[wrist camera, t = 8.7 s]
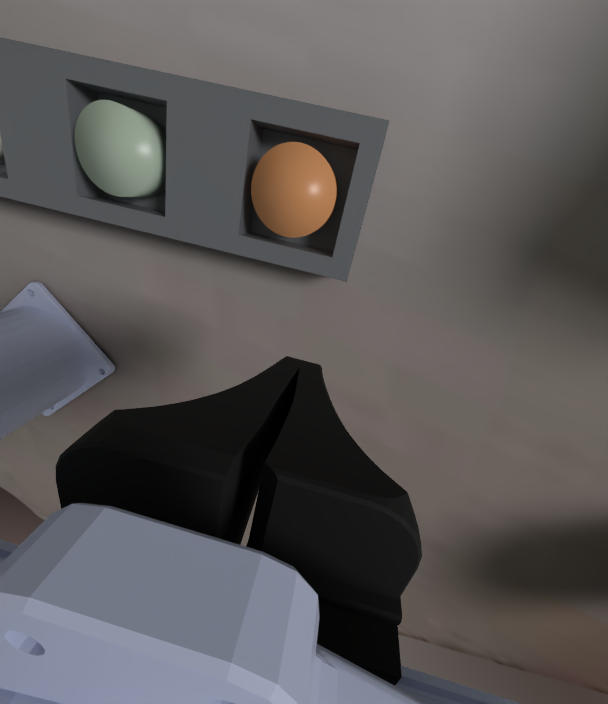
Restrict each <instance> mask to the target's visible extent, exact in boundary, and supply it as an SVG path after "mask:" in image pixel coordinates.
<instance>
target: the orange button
mask: <svg viewBox="0 0 608 704" xmlns="http://www.w3.org/2000/svg"><path fill="white" fill-rule="evenodd" d="M251 196H252V202H253V205H254V208H255V210H256V213H257V215H258V216H259V218H260V219H261V221H262V222H263V223H264V224H265V225H266V227H268V228H269V229H270V230H271V231H273V232H275V233H276V234H279V235H281V236H284V237H290V238H297V237H303V236H306V235H309V234H311V233H313V232H314V231H316V230H318V229H320V228H321V227H322V226H324V225H325V224H326V223H327V222H328V220H329V219H330V218H331V216H332V214H333V212H334V210H335V208H336V204H337V200H338V184H337V179H336V176H335V173H334V171H333V169H332V167H331V166H330V164H329V163H328V162H327V160H326V159H325V158H324V157H323V156H322V154H321V153H319V152H318V151H317V150H316V149H314V148H313V147H311V146H309V145H307V144H304V143H300V142H286V143H282V144H279V145H277V146H275V147H273V148H272V149H270V150H269V151H268V152H266V153H265V154H264V155H263V157H262V158H261V159H260V161H259V162H258V164H257V166H256V168H255V171H254V174H253V177H252V183H251Z"/></svg>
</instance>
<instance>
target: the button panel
mask: <svg viewBox="0 0 608 704" xmlns="http://www.w3.org/2000/svg"><path fill="white" fill-rule="evenodd" d="M97 100H111V101H114V102H117V103H119V104H122V105H124V106H126V107H129V108H131V109H134V110H136V111H138V112H141V113H143V114H145V115H147V116H149V117H150V118H152V119H153V120H154V121H155V122H157V124H158V125H159V126H160V127H161V128H162V129H163V131H164V132H165V134H166V189H165V190H164V191H163V192H161V193H160V194H158V195H157V196H154V197H149V198H141V197H119V196H114V195H111V194H108V193H106V192H105V191H103V190H101V189H100V188H99V187H98V186H96V185H95V184H94V183H93V182H92V181H91V179H90V178H89V177H88V176H87V174H86V173H85V171H84V169H83V167H82V165H81V163H80V161H79V158H78V155H77V152H76V147H75V127H76V122H77V119H78V117H79V115H80V113H81V112H82V110H83V109H84V108H85V107H86V106H87V105H89V104H90V103H92V102H94V101H97ZM388 124H389V121H388V120H384V119H379V118H374V117H370V116H365V115H360V114H356V113H351V112H346V111H342V110H337V109H332V108H328V107H323V106H318V105H313V104H309V103H304V102H299V101H295V100H290V99H285V98H281V97H276V96H271V95H267V94H262V93H257V92H253V91H248V90H243V89H239V88H234V87H229V86H225V85H220V84H215V83H211V82H206V81H201V80H197V79H192V78H187V77H183V76H178V75H173V74H169V73H164V72H159V71H155V70H150V69H145V68H141V67H136V66H131V65H126V64H122V63H117V62H112V61H108V60H103V59H98V58H94V57H89V56H84V55H80V54H75V53H70V52H66V51H61V50H56V49H52V48H47V47H42V46H38V45H33V44H28V43H24V42H19V41H14V40H10V39H5V38H0V136H1V141H2V147H3V152H4V158H5V163H0V197H4V198H8V199H12V200H17V201H21V202H25V203H29V204H33V205H37V206H41V207H45V208H49V209H53V210H57V211H61V212H65V213H69V214H73V215H78V216H82V217H86V218H90V219H94V220H98V221H102V222H106V223H110V224H114V225H118V226H122V227H126V228H130V229H135V230H139V231H143V232H147V233H151V234H155V235H159V236H163V237H167V238H171V239H175V240H179V241H183V242H187V243H192V244H196V245H200V246H204V247H208V248H212V249H216V250H220V251H224V252H228V253H232V254H236V255H240V256H244V257H248V258H253V259H257V260H261V261H265V262H269V263H273V264H277V265H281V266H285V267H289V268H293V269H297V270H301V271H305V272H310V273H314V274H318V275H322V276H326V277H330V278H334V279H338V280H342V281H347V278H348V274H349V270H350V266H351V263H352V259H353V255H354V251H355V248H356V244H357V240H358V236H359V233H360V229H361V225H362V222H363V218H364V214H365V210H366V207H367V203H368V199H369V195H370V192H371V188H372V184H373V180H374V177H375V173H376V169H377V165H378V162H379V158H380V154H381V150H382V147H383V143H384V139H385V136H386V132H387V128H388ZM286 142H300V143H304V144H307V145H309V146H311V147H313V148H314V149H316V150H317V151H318V152H319V153H321V154H322V156H323V157H324V158H325V159H326V160H327V162H328V163H329V164H330V166H331V167H332V169H333V171H334V173H335V176H336V179H337V184H338V200H337V204H336V208H335V210H334V212H333V214H332V216H331V218H330V219H329V220H328V222H327V223H326V224H325V225H324V226H322V227H321V228H320V229H318V230H316V231H314V232H313V233H311V234H309V235H306V236H303V237H297V238H290V237H284V236H281V235H279V234H276V233H275V232H273V231H271V230H270V229H269V228H268V227H266V225H265V224H264V223H263V222H262V221H261V219H260V218H259V216H258V215H257V213H256V210H255V208H254V205H253V202H252V196H251V183H252V177H253V174H254V171H255V168H256V166H257V164H258V162H259V161H260V159H261V158H262V157H263V155H264V154H265V153H266V152H268V151H269V150H270V149H272V148H273V147H275V146H277V145H279V144H282V143H286Z"/></svg>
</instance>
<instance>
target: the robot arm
mask: <svg viewBox="0 0 608 704" xmlns="http://www.w3.org/2000/svg"><path fill="white" fill-rule="evenodd" d="M32 291H33V292H32ZM103 370H104V371H105V372H104V371H103ZM114 371H115V366H114V364H113V363H112V362H111V361H110V360H109V359H108V358H107V356H106V355H105V354H104V353H103V352H102V351H101V350H100V349H99V347H98V346H97V345H96V344H95V343H94V342H93V341H92V339H91V338H90V337H89V336H88V335H87V334H86V333H85V332H84V330H83V329H82V328H81V327H80V326H79V325H78V324H77V323H76V321H75V320H74V319H73V318H72V317H71V316H70V315H69V314H68V312H67V311H66V310H65V309H64V308H63V307H62V306H61V305H60V303H59V302H58V301H57V300H56V299H55V298H54V297H53V295H52V294H51V293H50V292H49V291H48V290H47V289H46V288H45V286H44V285H43V284H42V283H40V282H38V281H34V282H30V283H29V284H28V285H27V286H26V287H25V288H24V289H23V290H22V291H21V292H20V293H19V294H18V295H17V296H16V297H15V298H14V299H13V300H12V301H11V302H10V303H9V304H8V305H7V306H5V307H4V308H3V309H2V310H1V311H0V440H1V439H2V438H4V437H5V436H7V435H9V434H10V433H12V432H13V431H15V430H16V429H18V428H19V427H21V426H22V425H24V424H26V423H27V422H29V421H30V420H32V419H33V418H35V417H36V416H38V415H39V414H42V415H44V416H49V415H51V414H52V413H54V412H55V411H57V410H58V409H60V408H61V407H63V406H64V405H65V404H67V403H68V402H70V401H71V400H73V399H74V398H76V397H77V396H79V395H80V394H82V393H83V392H85V391H86V390H88V389H89V388H91V387H92V386H93V385H95V384H96V383H98V382H99V381H101V380H102V379H104V378H105V377H107V376H108V375H110V374H111V373H113V372H114ZM56 483H57V488H58V494H59V499H60V504H61V509H60V510H58V511H56V512H54V513H52V514H51V515H50V516H49V517H48V518H47V519H46V520H45V521H44V522H43V523H42V524H41V525H40V526H39V527H38V528H37V529H36V530H35V531H34V532H33V533H32V534H31V535H30V536H29V537H28V538H27V539H26V540H25V541H24V542H23V543H22V544H21V545H20V546H19V545H16V544H13V543H10V542H6V541H3V540H0V704H522V703H518V702H515V701H512V700H509V699H506V698H503V697H499V696H496V695H493V694H490V693H487V692H484V691H480V690H477V689H474V688H471V687H468V686H465V685H461V684H458V683H455V682H451V681H449V680H445V679H442V678H439V677H436V676H433V675H430V674H426V673H423V672H420V671H417V670H414V669H410V668H407V667H404V666H401V663H400V652H399V639H398V627H397V625H399V624H400V623H401V620H402V610H401V600H400V596H401V595H402V593H403V591H404V590H405V588H406V586H407V585H408V583H409V582H410V580H411V578H412V577H413V575H414V573H415V572H416V570H417V568H418V566H419V563H420V560H421V558H422V551H421V540H420V535H419V529H418V525H417V521H416V518H415V514H414V511H413V508H412V505H411V502H410V498H409V495H408V493H407V492H406V491H405V490H404V489H403V488H402V487H401V486H399V485H398V484H397V483H396V482H395V481H393V480H392V479H391V478H390V477H389V476H388V475H386V474H385V473H384V472H383V471H382V470H381V469H380V468H379V467H378V466H377V465H376V464H375V463H374V462H373V461H372V460H371V459H370V458H369V457H368V456H367V455H366V454H365V453H364V452H363V451H362V450H361V448H360V447H359V446H358V445H357V443H356V442H355V441H354V440H353V438H352V437H351V436H350V435H349V433H348V432H347V430H346V429H345V427H344V426H343V424H342V422H341V421H340V419H339V417H338V415H337V413H336V411H335V409H334V407H333V405H332V402H331V400H330V398H329V395H328V392H327V389H326V386H325V383H324V379H323V374H322V368H321V366H320V365H318V364H315V363H311V362H307V361H303V360H299V359H295V358H292V357H288V356H287V357H285V358H283V359H281V360H280V361H279V362H277V363H276V364H274V365H273V366H271V367H270V368H268V369H267V370H265V371H263V372H262V373H260V374H258V375H257V376H255V377H253V378H251V379H249V380H247V381H245V382H243V383H242V384H239V385H237V386H235V387H232V388H230V389H227V390H224V391H222V392H219V393H216V394H212V395H209V396H205V397H202V398H198V399H194V400H190V401H186V402H181V403H175V404H169V405H163V406H156V407H146V408H135V409H124V410H114V411H113V412H111V413H110V414H109V415H107V416H106V417H105V418H104V419H102V420H101V421H100V422H98V423H97V424H96V425H95V426H94V427H92V428H91V429H90V430H89V431H88V432H86V433H85V434H84V435H83V436H82V437H80V438H79V439H78V440H77V441H76V442H75V443H73V444H72V445H71V446H70V447H69V448H68V449H66V450H65V451H64V452H63V453H62V454H61V455H60V457H59V459H58V462H57V464H56ZM258 490H259V492H258ZM257 493H258V497H257V502H256V507H255V512H254V517H253V522H252V527H251V531H250V536H249V540H248V543H247V546H246V547H245V546H242V545H240V544H241V541H242V538H243V535H244V532H245V529H246V526H247V523H248V520H249V517H250V514H251V511H252V508H253V505H254V502H255V499H256V496H257Z"/></svg>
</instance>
